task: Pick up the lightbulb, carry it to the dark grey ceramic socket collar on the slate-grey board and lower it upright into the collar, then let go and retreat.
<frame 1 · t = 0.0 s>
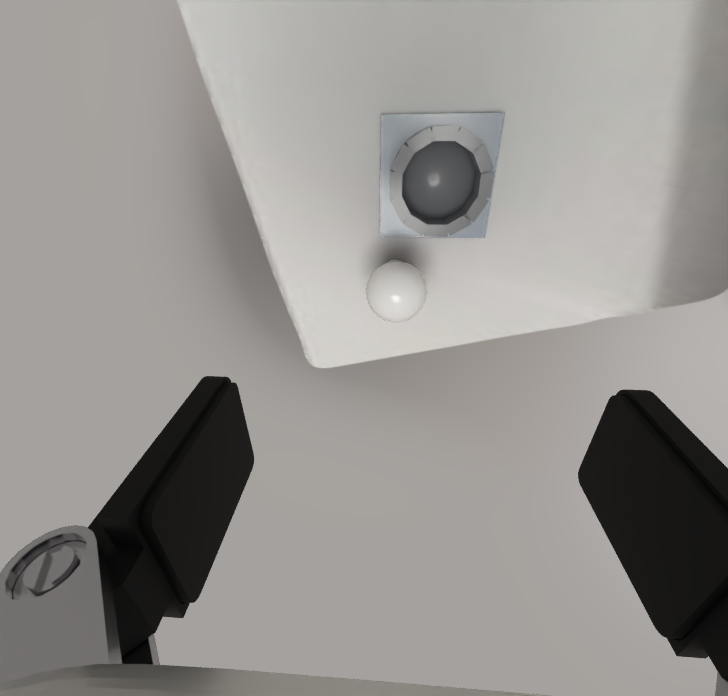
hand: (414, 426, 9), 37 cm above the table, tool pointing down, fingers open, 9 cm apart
lightbulb: (395, 267, 45), on the table
socket: (435, 179, 40), on the table
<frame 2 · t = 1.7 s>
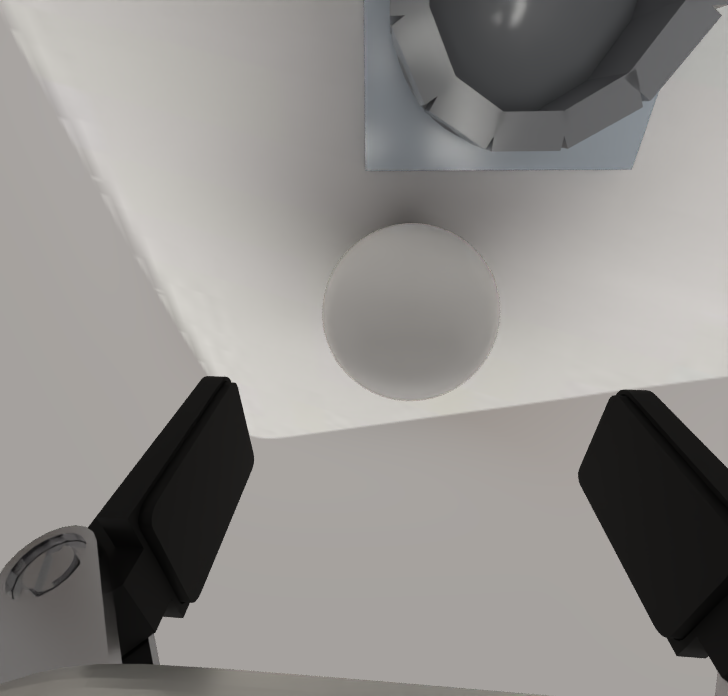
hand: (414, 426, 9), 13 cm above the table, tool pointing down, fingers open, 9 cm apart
lightbulb: (403, 247, 20), on the table
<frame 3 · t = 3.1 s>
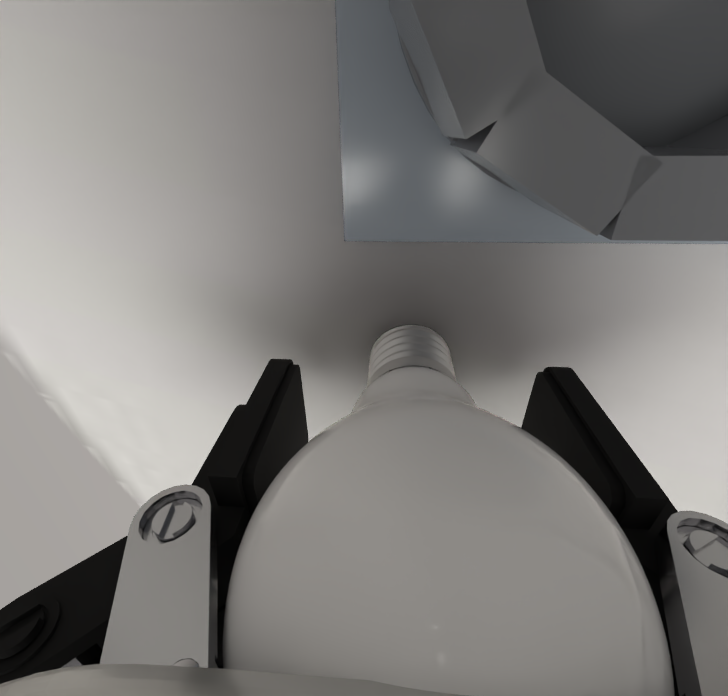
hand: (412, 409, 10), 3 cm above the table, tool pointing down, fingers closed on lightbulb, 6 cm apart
lightbulb: (408, 346, 13), on the table, touching gripper
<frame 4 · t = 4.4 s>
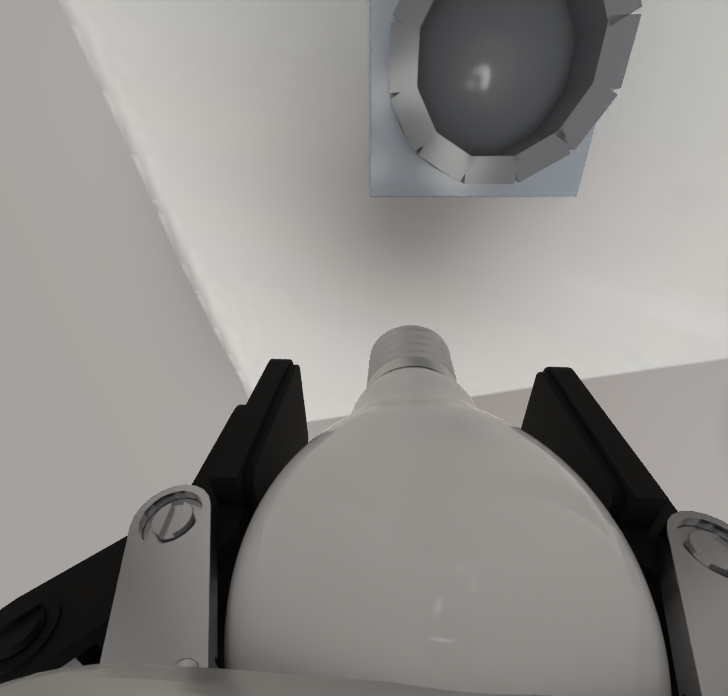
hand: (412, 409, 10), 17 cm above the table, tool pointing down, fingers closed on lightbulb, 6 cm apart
lightbulb: (408, 347, 13), point 13 cm above the table, touching gripper
socket: (483, 73, 20), on the table
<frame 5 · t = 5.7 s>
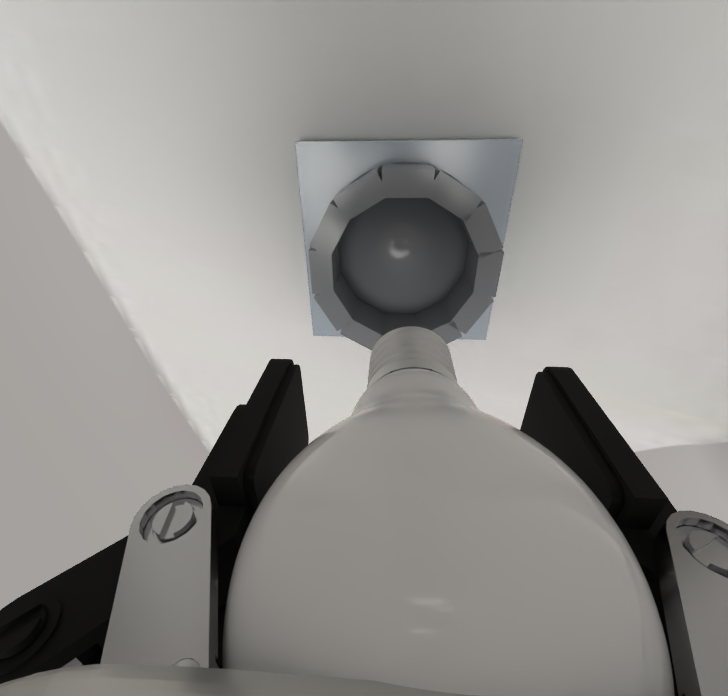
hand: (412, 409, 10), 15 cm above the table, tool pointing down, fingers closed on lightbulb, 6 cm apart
lightbulb: (409, 348, 13), point 12 cm above the table, touching gripper
socket: (401, 248, 23), on the table
when the fingers open (6 cm above the table, at t = 7.6 s): lightbulb drops 1 cm, resting on socket.
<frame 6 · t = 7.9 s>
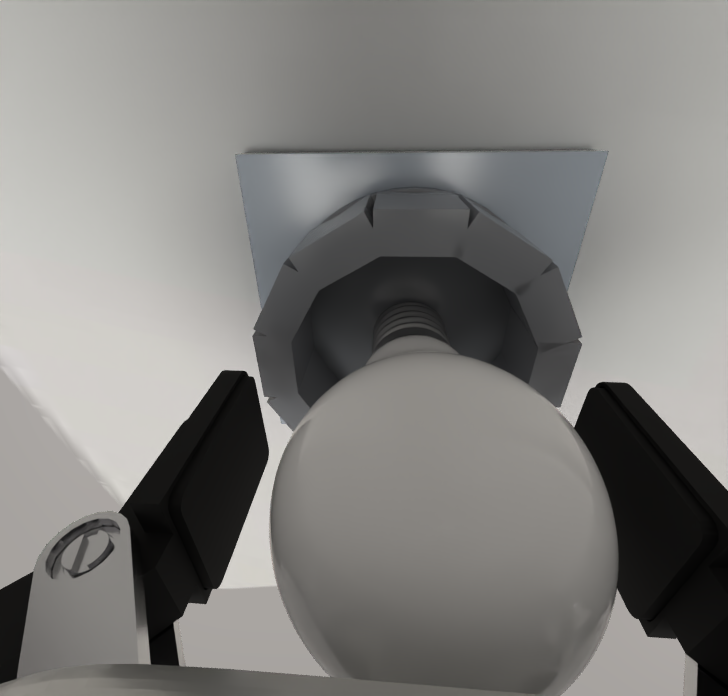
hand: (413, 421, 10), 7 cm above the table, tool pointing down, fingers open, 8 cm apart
lightbulb: (407, 324, 14), point 2 cm above the table, touching socket
socket: (405, 308, 16), on the table
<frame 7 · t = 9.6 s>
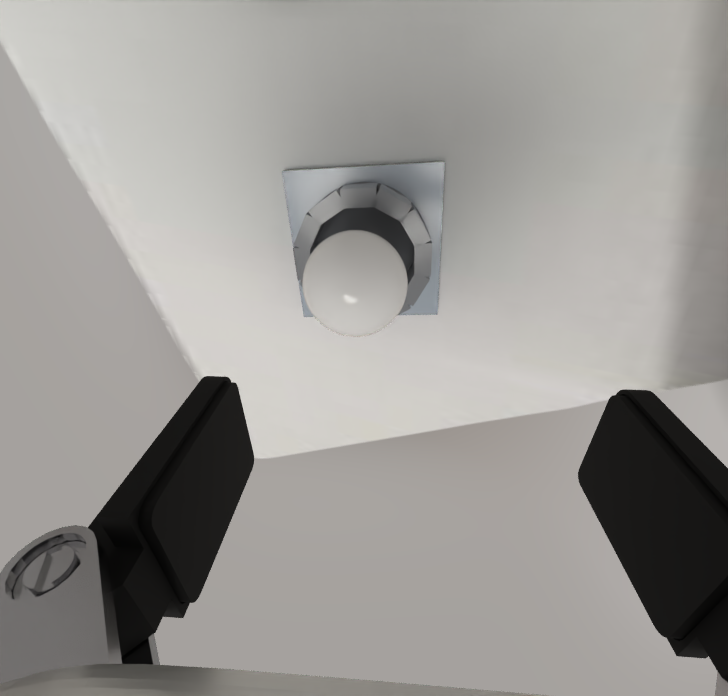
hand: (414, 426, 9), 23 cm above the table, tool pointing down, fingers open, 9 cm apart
lightbulb: (365, 249, 29), point 2 cm above the table, touching socket
socket: (366, 245, 31), on the table
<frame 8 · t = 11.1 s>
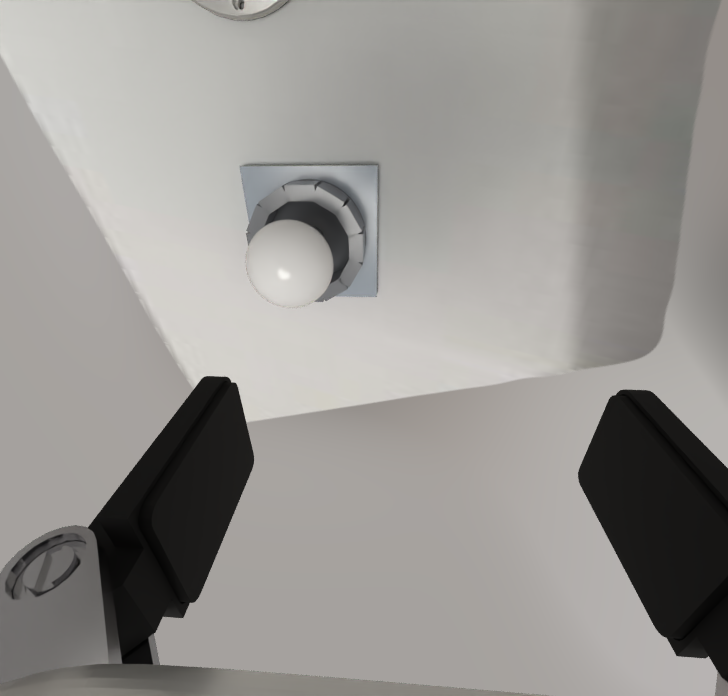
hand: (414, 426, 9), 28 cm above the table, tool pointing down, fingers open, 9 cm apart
lightbulb: (312, 237, 34), point 2 cm above the table, touching socket
socket: (315, 234, 35), on the table
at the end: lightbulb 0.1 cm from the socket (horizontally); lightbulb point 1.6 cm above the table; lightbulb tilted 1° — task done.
